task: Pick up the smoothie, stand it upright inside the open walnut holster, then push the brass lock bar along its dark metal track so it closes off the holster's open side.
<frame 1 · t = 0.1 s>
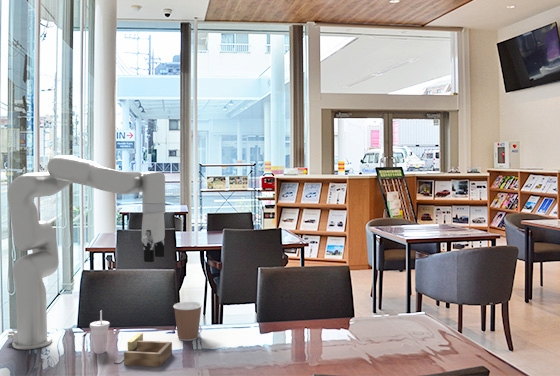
hand: (154, 259, 182), 31 cm above the table, tool pointing down, fingers open, 9 cm apart
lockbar: (135, 341, 185), point 2 cm above the table, slide at 9.8 cm
cradle: (149, 359, 174), on the table
smoothie: (100, 352, 181), on the table
coffee cup: (188, 338, 196), on the table
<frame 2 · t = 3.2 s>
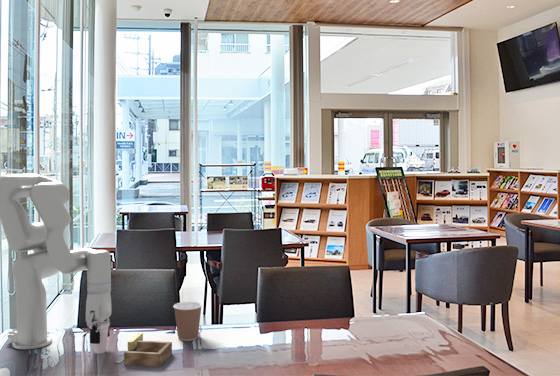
hand: (100, 339, 181), 4 cm above the table, tool pointing down, fingers closed on smoothie, 6 cm apart
smoothie: (100, 352, 181), on the table, touching gripper
everything else where it was.
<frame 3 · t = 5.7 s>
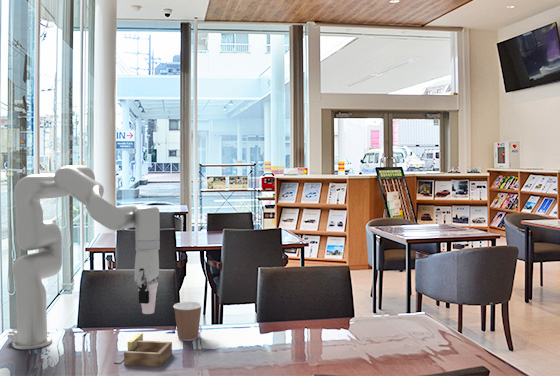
hand: (148, 299, 174), 19 cm above the table, tool pointing down, fingers closed on smoothie, 6 cm apart
smoothie: (148, 313, 174), point 15 cm above the table, touching gripper
everything else where it was.
when the fingers open (6 cm above the table, at t = 8.6 s): smoothie drops 2 cm, resting in cradle.
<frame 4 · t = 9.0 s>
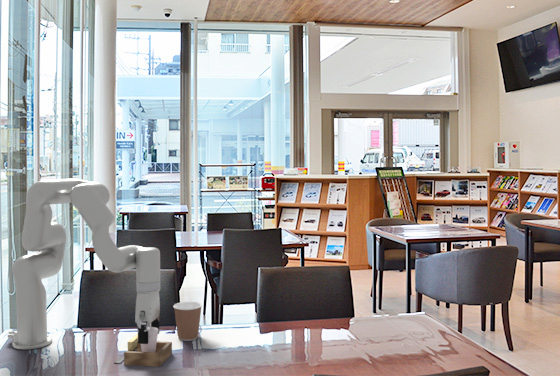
hand: (149, 338, 174), 7 cm above the table, tool pointing down, fingers open, 9 cm apart
smoothie: (148, 359, 174), resting in cradle
everything else where it was.
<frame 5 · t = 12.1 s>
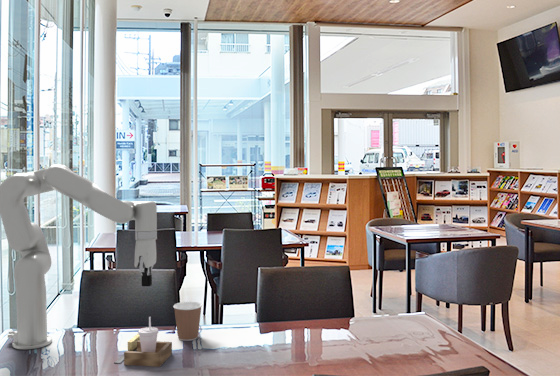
hand: (146, 285, 195), 19 cm above the table, tool pointing down, fingers closed
nothing on the table moved.
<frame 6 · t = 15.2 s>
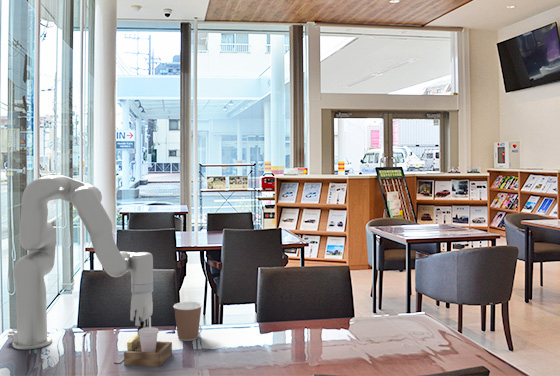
hand: (142, 338, 192), 1 cm above the table, tool pointing down, fingers closed
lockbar: (135, 341, 185), point 2 cm above the table, slide at 9.5 cm, touching gripper
everything else where it was.
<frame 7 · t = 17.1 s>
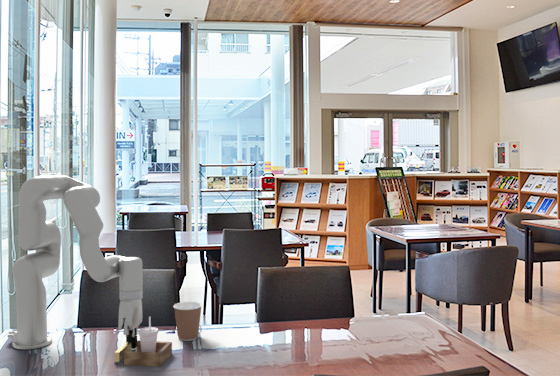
hand: (131, 347, 182), 1 cm above the table, tool pointing down, fingers closed
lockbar: (123, 351, 175), point 2 cm above the table, slide at -0.1 cm, touching gripper
everything else where it was.
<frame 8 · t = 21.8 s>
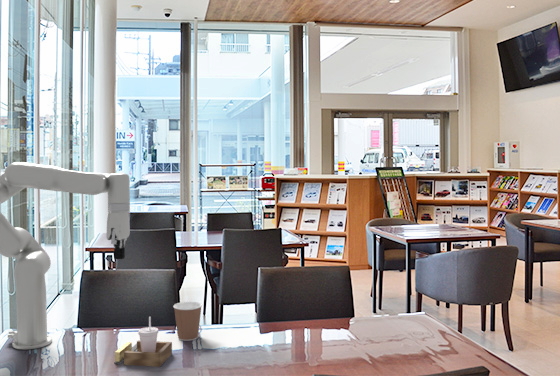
hand: (119, 258, 194), 29 cm above the table, tool pointing down, fingers closed
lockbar: (123, 351, 176), point 2 cm above the table, slide at 0.0 cm
everything else where it was.
at the end: smoothie 0.2 cm from the cradle (horizontally); smoothie tilted 0°; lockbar slide at 0.0 cm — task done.
